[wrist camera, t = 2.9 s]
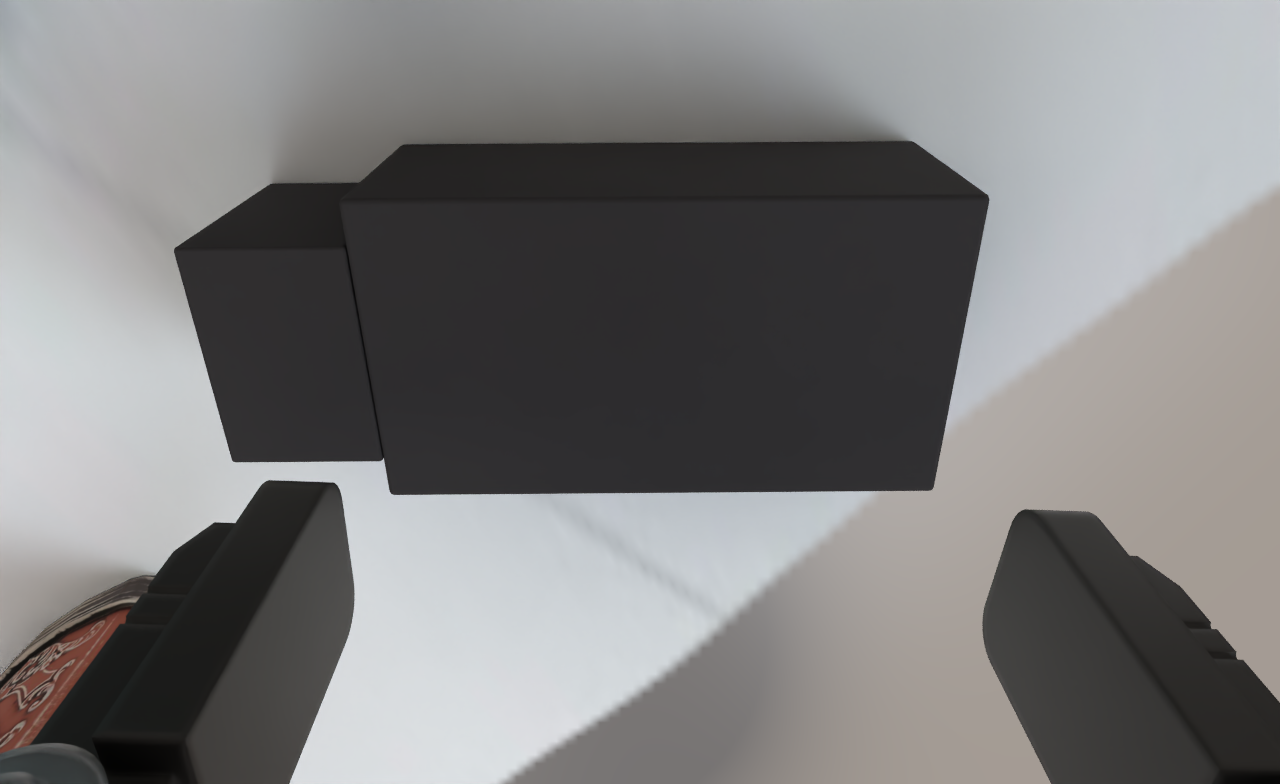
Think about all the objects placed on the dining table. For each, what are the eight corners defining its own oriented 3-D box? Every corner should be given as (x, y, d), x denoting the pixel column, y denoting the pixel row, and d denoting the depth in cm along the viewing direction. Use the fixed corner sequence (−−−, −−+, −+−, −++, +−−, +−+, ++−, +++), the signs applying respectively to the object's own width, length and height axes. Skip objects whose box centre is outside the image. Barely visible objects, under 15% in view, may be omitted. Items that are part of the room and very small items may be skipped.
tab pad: (260, 144, 16) (158, 201, 13) (915, 140, 16) (992, 195, 13) (314, 394, 19) (241, 498, 15) (878, 389, 19) (934, 492, 15)
